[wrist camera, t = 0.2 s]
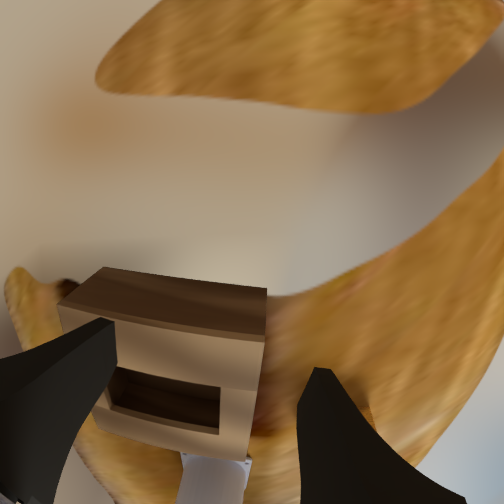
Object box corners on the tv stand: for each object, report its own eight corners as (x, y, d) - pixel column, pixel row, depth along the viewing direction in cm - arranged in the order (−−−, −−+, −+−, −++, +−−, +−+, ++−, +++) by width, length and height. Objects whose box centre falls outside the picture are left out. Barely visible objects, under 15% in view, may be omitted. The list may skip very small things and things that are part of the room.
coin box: (250, 407, 23) (245, 462, 18) (123, 383, 24) (98, 428, 18) (267, 288, 19) (264, 342, 14) (103, 266, 20) (56, 304, 14)
